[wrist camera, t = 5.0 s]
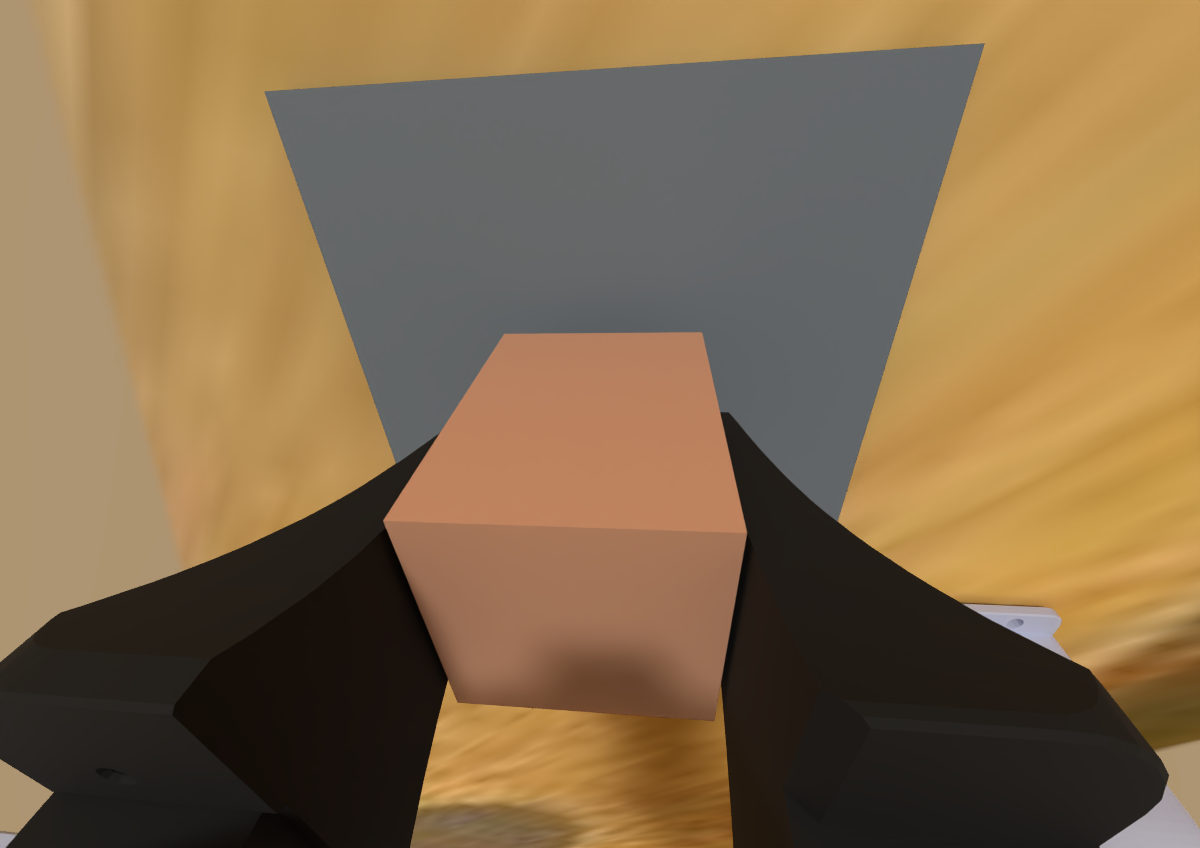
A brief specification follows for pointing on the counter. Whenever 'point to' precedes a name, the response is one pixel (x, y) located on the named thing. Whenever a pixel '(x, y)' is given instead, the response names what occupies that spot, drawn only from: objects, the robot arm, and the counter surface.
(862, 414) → the mat
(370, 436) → the counter surface
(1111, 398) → the counter surface
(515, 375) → the block
